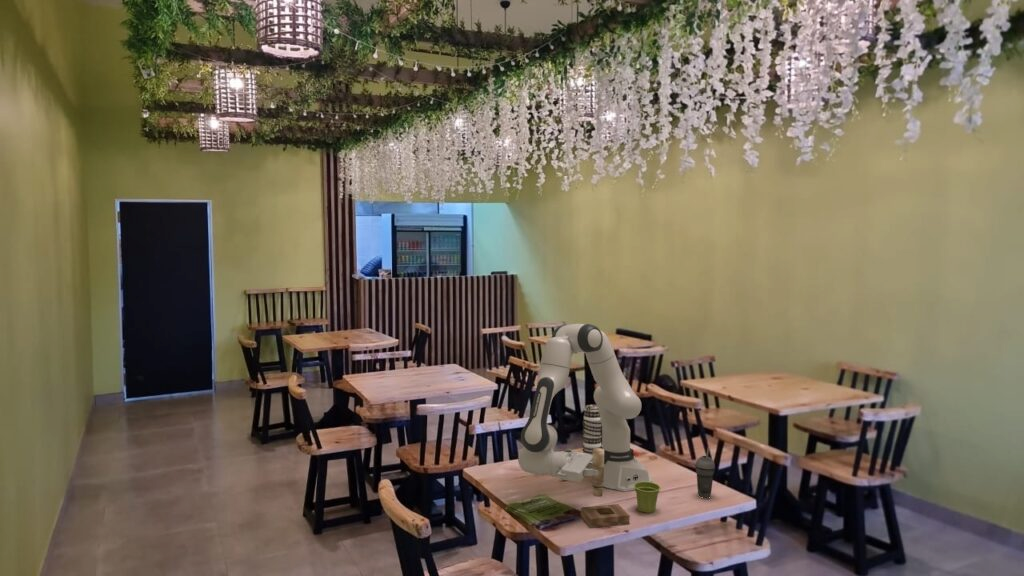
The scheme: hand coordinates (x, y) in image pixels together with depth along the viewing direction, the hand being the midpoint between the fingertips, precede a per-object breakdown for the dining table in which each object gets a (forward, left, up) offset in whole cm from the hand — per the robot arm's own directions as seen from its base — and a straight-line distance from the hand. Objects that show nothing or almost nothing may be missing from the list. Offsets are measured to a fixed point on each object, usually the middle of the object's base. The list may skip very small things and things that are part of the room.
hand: (600, 469), depth 222 cm
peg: (+1, 0, -9) cm, 9 cm away
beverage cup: (-46, -10, -17) cm, 50 cm away
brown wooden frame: (-1, +2, -17) cm, 17 cm away
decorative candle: (-18, -57, -17) cm, 62 cm away
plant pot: (-19, -3, -17) cm, 26 cm away
